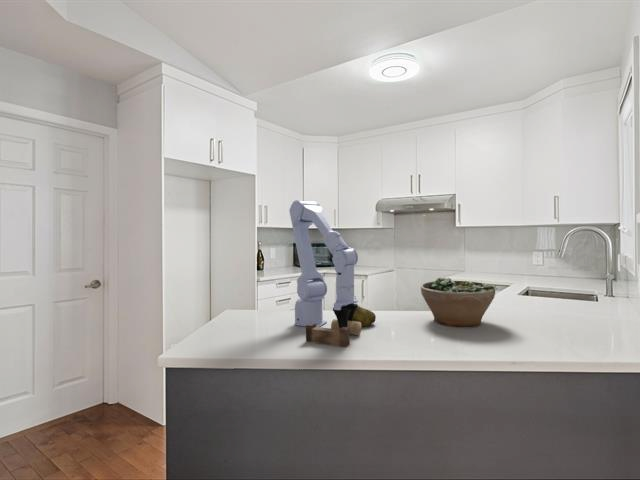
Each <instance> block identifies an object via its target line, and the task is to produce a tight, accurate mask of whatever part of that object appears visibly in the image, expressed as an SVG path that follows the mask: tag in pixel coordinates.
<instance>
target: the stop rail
mask: <svg viewBox="0 0 640 480" xmlns="http://www.w3.org/2000/svg"><path fill="white" fill-rule="evenodd" d="M305 342H307V343H308V342H309V343H314V344H322V345H329V346H335V347H345V348H347V347H348V346H350V334H349V327H342V328H340V329H331V327H330V328H329V327H322V326H320V327H316V323H309V324H307V325H306V326H305Z"/></svg>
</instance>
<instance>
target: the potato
mask: <svg viewBox="0 0 640 480" xmlns="http://www.w3.org/2000/svg"><path fill="white" fill-rule="evenodd" d="M353 304H355V303H353ZM353 321H355V322H361V327H367V326H370V325H372V324H374V323H375V321H376V314H375V313H374V312H373V311H372V310H369V309H367V308H365V307H364V308H363V307H361V306H360V305H358V306H357V308H356V310H355V313H354V316H353Z"/></svg>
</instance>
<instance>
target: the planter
mask: <svg viewBox="0 0 640 480" xmlns="http://www.w3.org/2000/svg"><path fill="white" fill-rule="evenodd" d="M496 290H498V291H499V289H498V288H497V285H494V286H493V285H491V284H489V283H484V282H481V281H466V280H452V278H450V277H447V278H446V277H442V278H441V277H438V278H437V279H436V280H435V281H429V282H425V283H424V282H423V284H421V285H420V293H421V295H422V297H423V300H424V302H425V303H426V305H427V306H428V308H429V310H430V311H431V313H432V316H433V321H434V323H436V324H437V323H438V325H441V326H445V327H449V328H459V329H461V328H463V329H470V328H471V329H472V328H478V327H480V326H482V319H483V317H484V315H485V313H486V312H487V310H488V309H489V307H490V305H491V304H492V302H493V300H494V299H495V297H496Z"/></svg>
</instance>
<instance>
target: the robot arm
mask: <svg viewBox="0 0 640 480" xmlns="http://www.w3.org/2000/svg"><path fill="white" fill-rule="evenodd" d="M288 211H289V216H290V217H289V218H290V221H291V226H292V232H293V237H294V242H295V248H296V251H297V256H298V257H297V258H298V261H299V266H300V273H301V274H300V276H299V277H298V278H297V279H296V284H297V285H296V286H297V287H296V293H297V295H298V299H297V300H296V301H295V304H294V323H293V325H294V326H298V327H299V326H300V327H306V325H307V324H309V323H316V327H322V326H323V325H325V324H326V323H327V321H326V320H323V318H324V317H323V316H324V315H323V300H324V299H325V296H326V295H327V292H328V285H327V283H326V281H325V279H324V275H323V274H321V272H319V271H318V270H317V266H316V261H315V256H314V252H313V246H312V242H311V237H310V232H309V227H311V226H312V225H314V226H315V227H316V228H317V230H318V231H319V232H320V234H322V236H323V239H322V240H323V241H322V242H323V243H324V245H325V247H327V249H328V251H329V252H330V254H331V255H332V257H331V259H332V263H333V265H334V271H335V273H336V275H335V276H336V279H335V280H336V299H335V302H334V303H333V307H332V311H333V313H334V315H335V317H336V320H338V325H339V328H342V327H347V323H348V321H353V316H354V313H355V310H356V308H357V306H359V305H358V304H357V303H358V302H359V299H357V296H356V295H355V265H356V264H357V263H358V260H359V255H358V253H357V250H356V249H355V248H352V247H350V246H348V244H347V243H346V241H345V240H344V239H343V237H342V234H341V233H340V232H338V231H336V230H333V229H332V227H331V226H330V223H329V222H328V221H327V219H326V218H325V217H326V216H325V215H324V214H323V207H321V205H320V203H319V202H318V201H316V200H315V201H310V200H309V201H307V200H297V199H296V200H294V201H293V202H292V203H291V205H290V208H289V210H288ZM353 303H354V304H353Z"/></svg>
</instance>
